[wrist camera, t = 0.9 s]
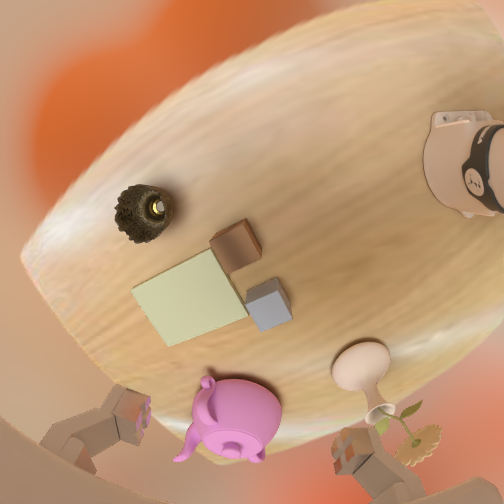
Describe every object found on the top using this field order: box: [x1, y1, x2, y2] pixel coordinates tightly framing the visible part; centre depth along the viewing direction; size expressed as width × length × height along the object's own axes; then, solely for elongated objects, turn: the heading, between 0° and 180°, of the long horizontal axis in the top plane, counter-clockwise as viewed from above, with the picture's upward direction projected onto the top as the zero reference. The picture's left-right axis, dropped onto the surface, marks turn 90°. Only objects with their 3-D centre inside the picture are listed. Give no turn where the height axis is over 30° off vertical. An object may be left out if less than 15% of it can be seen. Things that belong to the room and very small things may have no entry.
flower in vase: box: [332, 342, 443, 466], centre depth 33 cm, size 13×11×25 cm
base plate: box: [130, 247, 249, 347], centre depth 43 cm, size 16×12×1 cm
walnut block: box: [209, 218, 262, 274], centre depth 38 cm, size 5×5×5 cm
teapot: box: [173, 376, 282, 463], centre depth 43 cm, size 22×22×14 cm
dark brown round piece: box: [115, 184, 173, 244], centre depth 36 cm, size 8×7×8 cm
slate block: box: [245, 277, 293, 332], centre depth 40 cm, size 5×5×5 cm
